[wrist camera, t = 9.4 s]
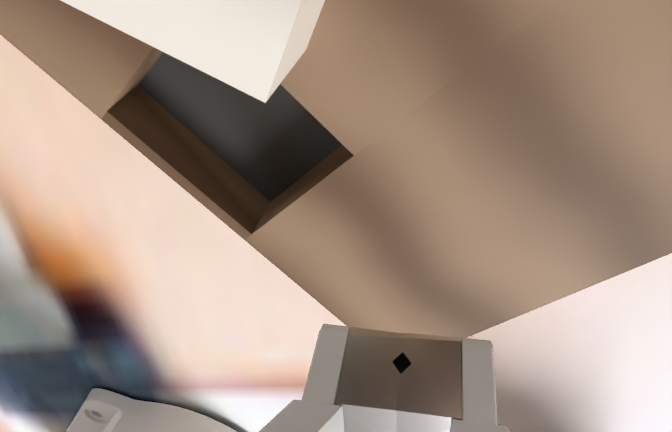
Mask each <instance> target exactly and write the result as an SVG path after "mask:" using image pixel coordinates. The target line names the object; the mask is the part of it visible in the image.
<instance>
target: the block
mask: <svg viewBox="0 0 672 432" xmlns="http://www.w3.org/2000/svg"><path fill="white" fill-rule="evenodd" d="M60 1H62V2H64V3H66V4H68V5H70V6H72V7H74V8H76V9H78V10H80V11H82V12H84V13H86V14H88V15H90V16H92V17H94V18H96V19H98V20H100V21H102V22H104V23H106V24H108V25H110V26H112V27H114V28H116V29H118V30H120V31H122V32H124V33H126V34H128V35H130V36H132V37H134V38H136V39H138V40H140V41H142V42H144V43H146V44H148V45H150V46H152V47H154V48H156V49H158V50H160V51H162V52H164V53H166V54H168V55H170V56H172V57H174V58H176V59H178V60H180V61H182V62H184V63H186V64H188V65H190V66H192V67H194V68H196V69H198V70H200V71H202V72H204V73H206V74H208V75H210V76H212V77H214V78H216V79H218V80H220V81H222V82H224V83H226V84H228V85H230V86H232V87H234V88H236V89H238V90H240V91H242V92H244V93H246V94H248V95H250V96H252V97H254V98H256V99H258V100H260V101H262V102H264V103H266V102H267V100H268V99H269V98H270V96H271V95H272V94H273V92H274V91H275V90H276V89H277V87H278V86H279V85H280V83H281V82H282V81H283V79H284V78H285V77H286V75H287V74H288V73H289V71H290V70H291V69H292V68H293V66H294V65H295V64H296V62H297V61H298V60H299V58H300V57H301V56H302V54H303V53H304V52H305V50H306V49H307V46H308V43H309V41H310V38H311V36H312V33H313V30H314V28H315V25H316V23H317V20H318V17H319V15H320V12H321V10H322V7H323V4H324V2H325V0H60Z"/></svg>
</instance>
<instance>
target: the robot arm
mask: <svg viewBox="0 0 672 432" xmlns="http://www.w3.org/2000/svg"><path fill="white" fill-rule="evenodd" d="M66 432H237V431H235V430H234V429H232V428H230V427H228V426H226V425H224V424H222V423H220V422H218V421H216V420H214V419H212V418H209V417H207V416H204V415H202V414H199V413H197V412H194V411H191V410H188V409H184V408H181V407H177V406H173V405H168V404H162V403H155V402H147V401H140V400H135V399H131V398H129V397H126V396H123V395H120V394H117V393H114V392H111V391H108V390H105V389H99V388H95V389H92V390H91V391H90V393H89V394H88V396H87V398H86V399H85V401H84V402H83V404H82V406H81V407H80V409H79V411H78V412H77V414H76V415H75V417H74V419H73V420H72V422H71V424H70V425H69V427H68V428H67V430H66ZM259 432H511V431H510V430H509V428H508V427H507V426H503V425H498V418H497V402H496V386H495V370H494V355H493V345H492V343H491V341H486V340H476V339H466V338H462V339H461V338H460V337H449V336H437V335H426V334H414V333H405V334H404V333H396V332H388V331H380V330H372V329H364V328H356V327H346V326H338V325H329V324H323V326H322V328H321V329H320V331H319V335H318V339H317V343H316V347H315V351H314V354H313V358H312V362H311V366H310V370H309V374H308V378H307V382H306V385H305V389H304V393H303V397H302V400H293V401H292V402H291V403H289V404H288V405H287V406H286V407H285V408H284V409H283V410H282V411H281V412H280V413H279V414H278V415H276V416H275V417H274V418H273V419H272V420H271V421H270V422H269V423H268V424H267V425H266V426H265V427H263V428H262V429H261V430H260V431H259Z"/></svg>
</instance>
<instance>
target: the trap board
mask: <svg viewBox="0 0 672 432" xmlns="http://www.w3.org/2000/svg"><path fill="white" fill-rule="evenodd" d="M0 34H1V35H2V36H3V37H4V38H5V39H6V40H8V41H9V42H10V43H11V44H12V45H14V46H15V47H16V48H17V49H18V50H20V51H21V52H22V53H23V54H24V55H26V56H27V57H28V58H29V59H30V60H31V61H33V62H34V63H35V64H36V65H37V66H39V67H40V68H41V69H42V70H43V71H45V72H46V73H47V74H48V75H49V76H50V77H52V78H53V79H54V80H55V81H56V82H58V83H59V84H60V85H61V86H62V87H64V88H65V89H66V90H67V91H68V92H69V93H71V94H72V95H73V96H74V97H75V98H77V99H78V100H79V101H80V102H81V103H83V104H84V105H85V106H86V107H87V108H89V109H90V110H91V111H92V112H93V113H94V114H96V115H97V116H98V117H99V118H100V119H102V120H103V121H104V122H105V123H106V124H108V125H109V126H110V127H111V128H112V129H113V130H115V131H116V132H117V133H118V134H119V135H121V136H122V137H123V138H124V139H125V140H127V141H128V142H129V143H130V144H131V145H132V146H134V147H135V148H136V149H137V150H138V151H140V152H141V153H142V154H143V155H144V156H146V157H147V158H148V159H149V160H150V161H152V162H153V163H154V164H155V165H156V166H157V167H159V168H160V169H161V170H162V171H163V172H165V173H166V174H167V175H168V176H169V177H171V178H172V179H173V180H174V181H175V182H176V183H178V184H179V185H180V186H181V187H182V188H184V189H185V190H186V191H187V192H188V193H190V194H191V195H192V196H193V197H194V198H195V199H197V200H198V201H199V202H200V203H201V204H203V205H204V206H205V207H206V208H207V209H209V210H210V211H211V212H212V213H213V214H215V215H216V216H217V217H218V218H219V219H220V220H222V221H223V222H224V223H225V224H226V225H228V226H229V227H230V228H231V229H232V230H234V231H235V232H236V233H237V234H238V235H239V236H241V237H242V238H243V239H244V240H245V241H247V242H248V243H249V244H250V245H251V246H253V247H254V248H255V249H256V250H257V251H258V252H260V253H261V254H262V255H263V256H264V257H266V258H267V259H268V260H269V261H270V262H272V263H273V264H274V265H275V266H276V267H278V268H279V269H280V270H281V271H282V272H283V273H285V274H286V275H287V276H288V277H289V278H291V279H292V280H293V281H294V282H295V283H297V284H298V285H299V286H300V287H301V288H302V289H304V290H305V291H306V292H307V293H308V294H310V295H311V296H312V297H313V298H314V299H316V300H317V301H318V302H319V303H320V304H321V305H323V306H324V307H325V308H326V309H327V310H329V311H330V312H331V313H332V314H333V315H335V316H336V317H337V318H338V319H339V320H341V321H342V322H343V323H344V324H345V325H346V326H348V327H356V328H364V329H372V330H380V331H388V332H396V333H404V334H405V333H414V334H426V335H437V336H449V337H460V338H461V339H462V338H466V337H469V336H471V335H473V334H476V333H478V332H481V331H483V330H486V329H488V328H490V327H493V326H495V325H498V324H500V323H503V322H505V321H507V320H510V319H512V318H515V317H517V316H520V315H522V314H524V313H527V312H529V311H532V310H534V309H537V308H539V307H542V306H544V305H546V304H549V303H551V302H554V301H556V300H559V299H561V298H563V297H566V296H568V295H571V294H573V293H576V292H578V291H580V290H583V289H585V288H588V287H590V286H593V285H595V284H597V283H600V282H602V281H605V280H607V279H610V278H612V277H614V276H617V275H619V274H622V273H624V272H627V271H629V270H631V269H634V268H636V267H639V266H641V265H644V264H646V263H648V262H651V261H653V260H656V259H658V258H661V257H663V256H665V255H668V254H670V253H672V0H325V2H324V4H323V7H322V10H321V12H320V15H319V17H318V20H317V23H316V25H315V28H314V30H313V33H312V36H311V38H310V41H309V43H308V46H307V49H306V50H305V52H304V53H303V54H302V56H301V57H300V58H299V60H298V61H297V62H296V64H295V65H294V66H293V68H292V69H291V70H290V71H289V73H288V74H287V75H286V77H285V78H284V79H283V81H282V82H281V83H280V85H279V86H278V87H277V89H276V90H275V91H274V92H273V94H272V95H271V96H270V98H269V99H268V100H267V102H266V103H264V102H262V101H260V100H258V99H256V98H254V97H252V96H250V95H248V94H246V93H244V92H242V91H240V90H238V89H236V88H234V87H232V86H230V85H228V84H226V83H224V82H222V81H220V80H218V79H216V78H214V77H212V76H210V75H208V74H206V73H204V72H202V71H200V70H198V69H196V68H194V67H192V66H190V65H188V64H186V63H184V62H182V61H180V60H178V59H176V58H174V57H172V56H170V55H168V54H166V53H164V52H162V51H160V50H158V49H156V48H154V47H152V46H150V45H148V44H146V43H144V42H142V41H140V40H138V39H136V38H134V37H132V36H130V35H128V34H126V33H124V32H122V31H120V30H118V29H116V28H114V27H112V26H110V25H108V24H106V23H104V22H102V21H100V20H98V19H96V18H94V17H92V16H90V15H88V14H86V13H84V12H82V11H80V10H78V9H76V8H74V7H72V6H70V5H68V4H66V3H64V2H62V1H60V0H0Z"/></svg>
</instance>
